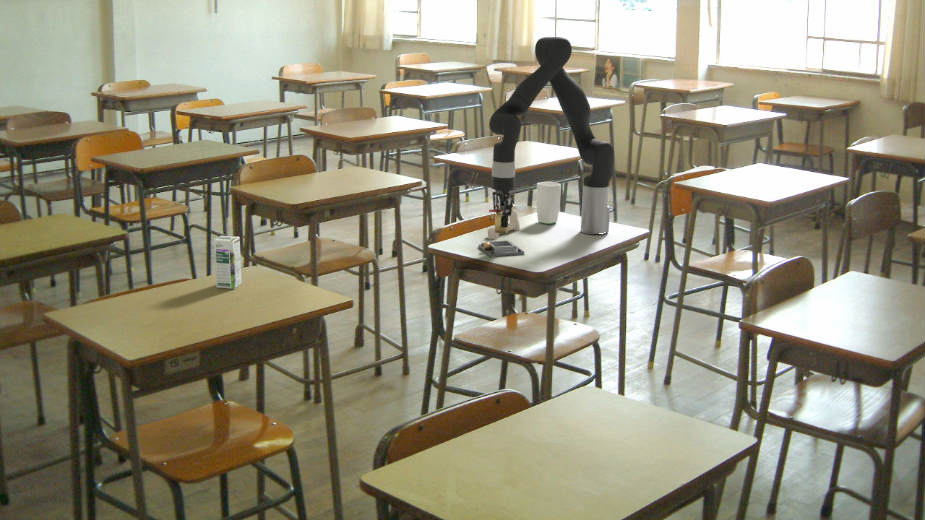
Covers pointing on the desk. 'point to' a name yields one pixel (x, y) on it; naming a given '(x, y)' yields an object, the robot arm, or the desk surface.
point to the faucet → (511, 226)
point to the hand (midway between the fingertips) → (501, 225)
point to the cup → (548, 202)
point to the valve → (499, 222)
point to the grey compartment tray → (500, 248)
